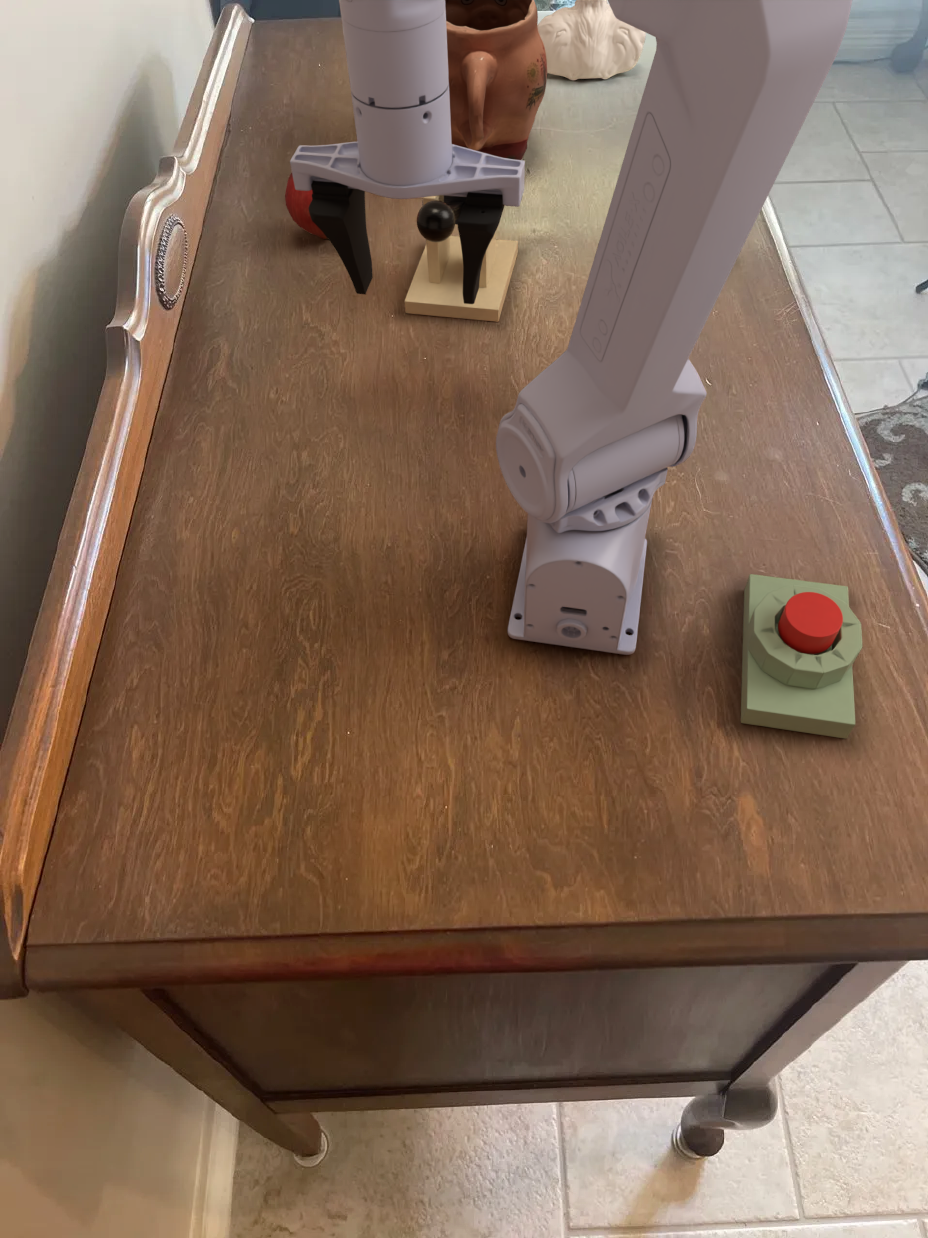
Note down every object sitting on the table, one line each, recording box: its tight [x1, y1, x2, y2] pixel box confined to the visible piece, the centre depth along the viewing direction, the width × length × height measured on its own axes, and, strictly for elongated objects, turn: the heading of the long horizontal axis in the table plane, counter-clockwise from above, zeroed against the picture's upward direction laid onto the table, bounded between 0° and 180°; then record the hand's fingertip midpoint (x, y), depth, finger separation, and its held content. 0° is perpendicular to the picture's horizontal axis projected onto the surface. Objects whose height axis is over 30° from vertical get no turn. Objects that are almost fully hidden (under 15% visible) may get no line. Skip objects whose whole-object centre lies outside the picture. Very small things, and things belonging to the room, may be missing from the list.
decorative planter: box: [445, 0, 548, 160], centre depth 86 cm, size 20×12×14 cm, turn 3°
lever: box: [416, 195, 467, 242], centre depth 70 cm, size 12×3×3 cm, turn 168°
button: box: [778, 592, 843, 654], centre depth 53 cm, size 3×3×2 cm
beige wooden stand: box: [403, 195, 519, 323], centre depth 76 cm, size 10×8×9 cm
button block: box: [740, 573, 863, 740], centre depth 55 cm, size 10×6×4 cm, turn 169°
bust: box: [537, 0, 647, 81], centre depth 99 cm, size 12×8×11 cm
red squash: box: [284, 172, 329, 240], centre depth 81 cm, size 6×6×8 cm
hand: (417, 290), depth 64 cm, fingers open, 7 cm apart
